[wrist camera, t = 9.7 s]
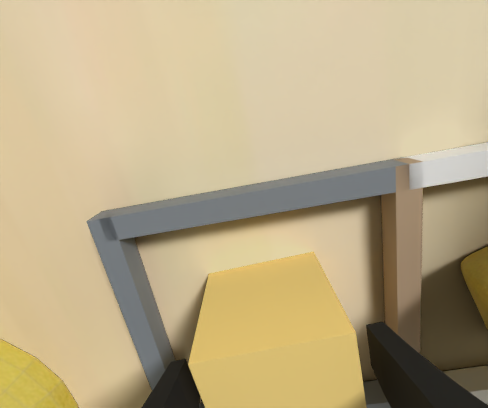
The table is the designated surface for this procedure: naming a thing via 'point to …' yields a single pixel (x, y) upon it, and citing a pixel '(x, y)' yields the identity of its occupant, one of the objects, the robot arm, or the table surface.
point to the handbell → (29, 382)
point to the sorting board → (285, 199)
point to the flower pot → (478, 280)
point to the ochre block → (275, 339)
